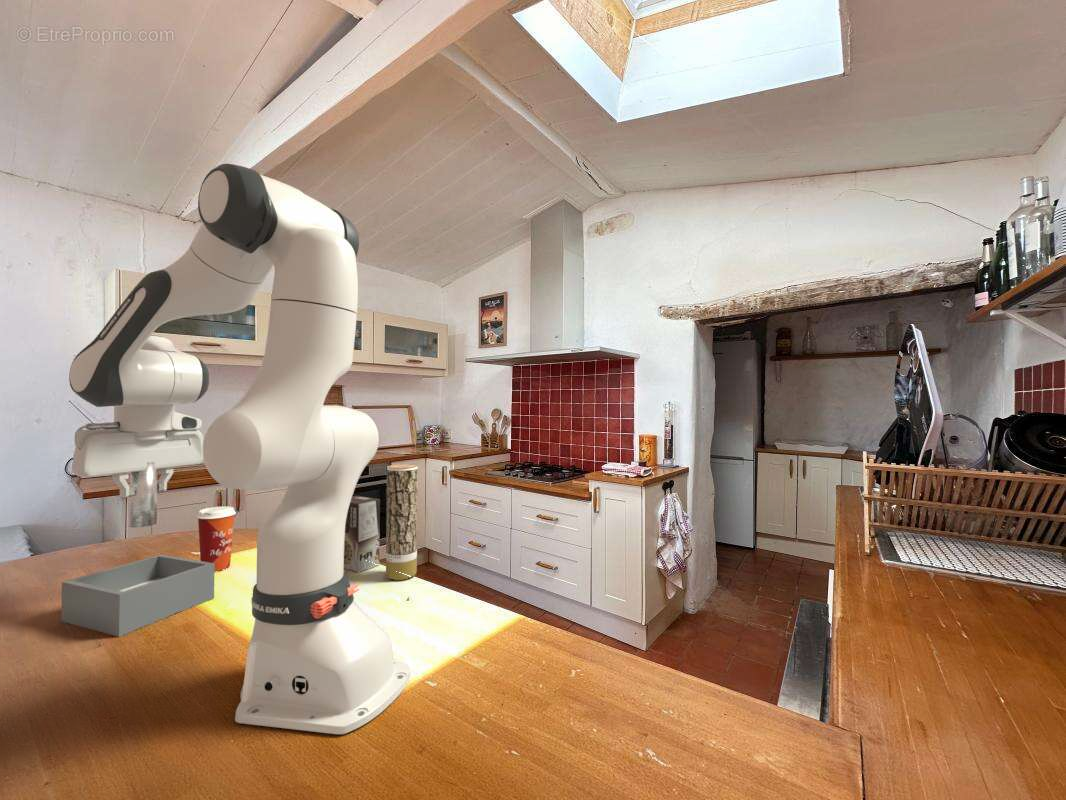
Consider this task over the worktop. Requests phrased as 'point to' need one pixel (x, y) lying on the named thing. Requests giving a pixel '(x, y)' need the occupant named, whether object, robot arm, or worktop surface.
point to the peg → (144, 497)
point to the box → (136, 593)
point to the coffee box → (362, 534)
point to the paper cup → (216, 535)
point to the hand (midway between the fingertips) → (144, 494)
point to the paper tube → (401, 521)
